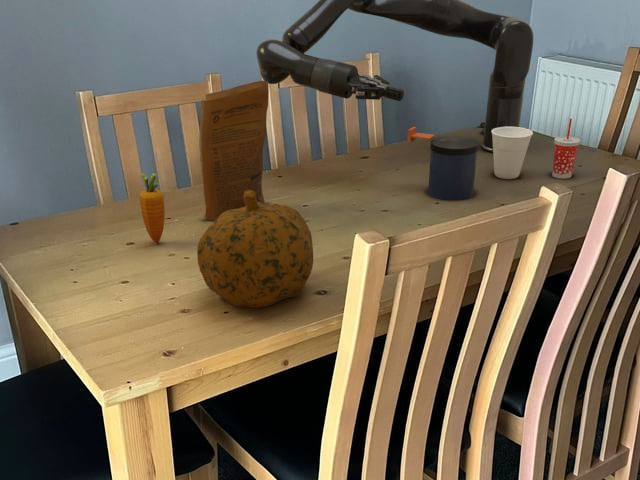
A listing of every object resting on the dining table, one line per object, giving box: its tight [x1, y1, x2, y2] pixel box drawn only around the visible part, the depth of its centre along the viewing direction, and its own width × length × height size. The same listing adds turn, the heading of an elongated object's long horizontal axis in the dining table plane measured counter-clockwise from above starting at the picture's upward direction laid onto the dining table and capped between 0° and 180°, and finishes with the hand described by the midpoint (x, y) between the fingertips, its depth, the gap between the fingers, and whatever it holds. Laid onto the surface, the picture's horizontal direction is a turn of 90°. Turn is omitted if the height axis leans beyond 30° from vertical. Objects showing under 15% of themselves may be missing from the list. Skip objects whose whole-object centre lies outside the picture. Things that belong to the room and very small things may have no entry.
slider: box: [406, 126, 436, 144], centre depth 186 cm, size 6×3×3 cm, turn 59°
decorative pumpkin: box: [196, 190, 314, 309], centre depth 139 cm, size 20×21×20 cm
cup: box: [491, 126, 534, 180], centre depth 196 cm, size 10×10×11 cm
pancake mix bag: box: [198, 79, 270, 221], centre depth 173 cm, size 7×19×28 cm, turn 127°
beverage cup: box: [551, 118, 581, 180], centre depth 195 cm, size 6×6×14 cm
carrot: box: [139, 173, 166, 245], centre depth 162 cm, size 5×5×15 cm
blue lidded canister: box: [427, 135, 480, 201], centre depth 186 cm, size 11×11×12 cm
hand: (402, 96), depth 183 cm, fingers closed
